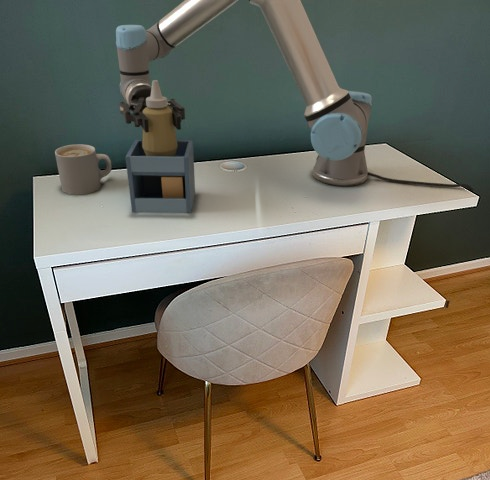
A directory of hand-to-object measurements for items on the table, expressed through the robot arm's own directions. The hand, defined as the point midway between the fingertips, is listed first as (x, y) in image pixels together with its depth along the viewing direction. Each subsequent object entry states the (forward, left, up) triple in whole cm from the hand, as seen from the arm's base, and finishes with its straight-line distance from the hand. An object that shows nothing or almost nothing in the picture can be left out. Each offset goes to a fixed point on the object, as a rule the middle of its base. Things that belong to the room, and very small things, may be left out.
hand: (162, 124), depth 109 cm
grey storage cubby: (+2, -5, -21) cm, 22 cm away
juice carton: (-1, -5, -20) cm, 21 cm away
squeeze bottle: (+2, -5, -10) cm, 11 cm away
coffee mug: (+24, -16, -21) cm, 36 cm away
